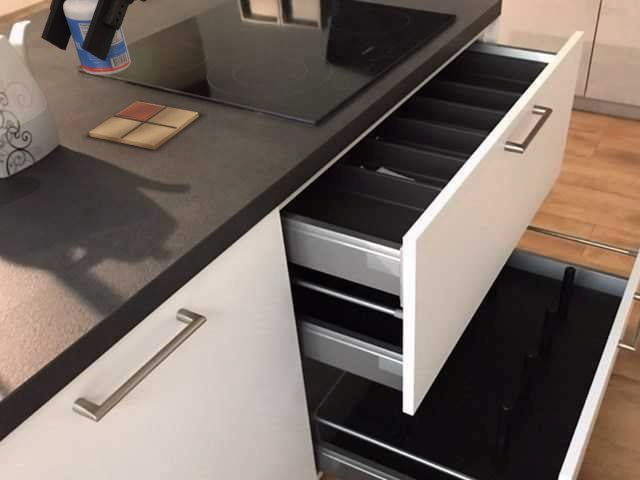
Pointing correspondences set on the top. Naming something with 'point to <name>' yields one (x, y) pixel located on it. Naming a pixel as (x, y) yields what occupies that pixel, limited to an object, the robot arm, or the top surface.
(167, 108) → the grid board
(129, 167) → the top surface
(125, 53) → the pill bottle
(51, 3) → the robot arm
